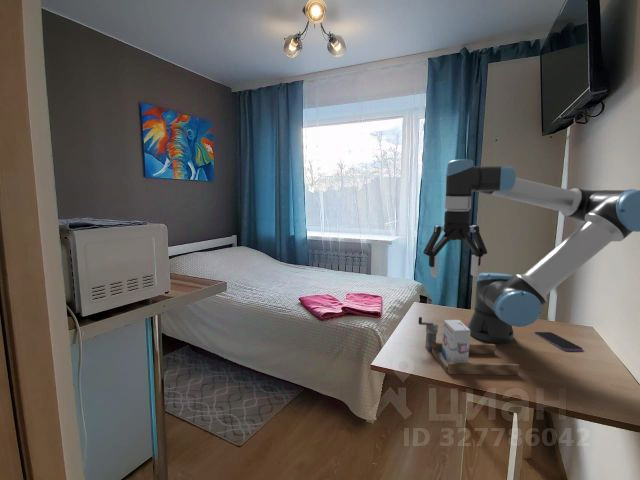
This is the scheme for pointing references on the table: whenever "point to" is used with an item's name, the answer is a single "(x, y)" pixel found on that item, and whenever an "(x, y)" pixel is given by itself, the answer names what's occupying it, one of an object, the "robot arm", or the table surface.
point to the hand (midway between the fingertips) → (453, 276)
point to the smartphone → (558, 341)
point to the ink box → (455, 341)
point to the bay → (473, 348)
